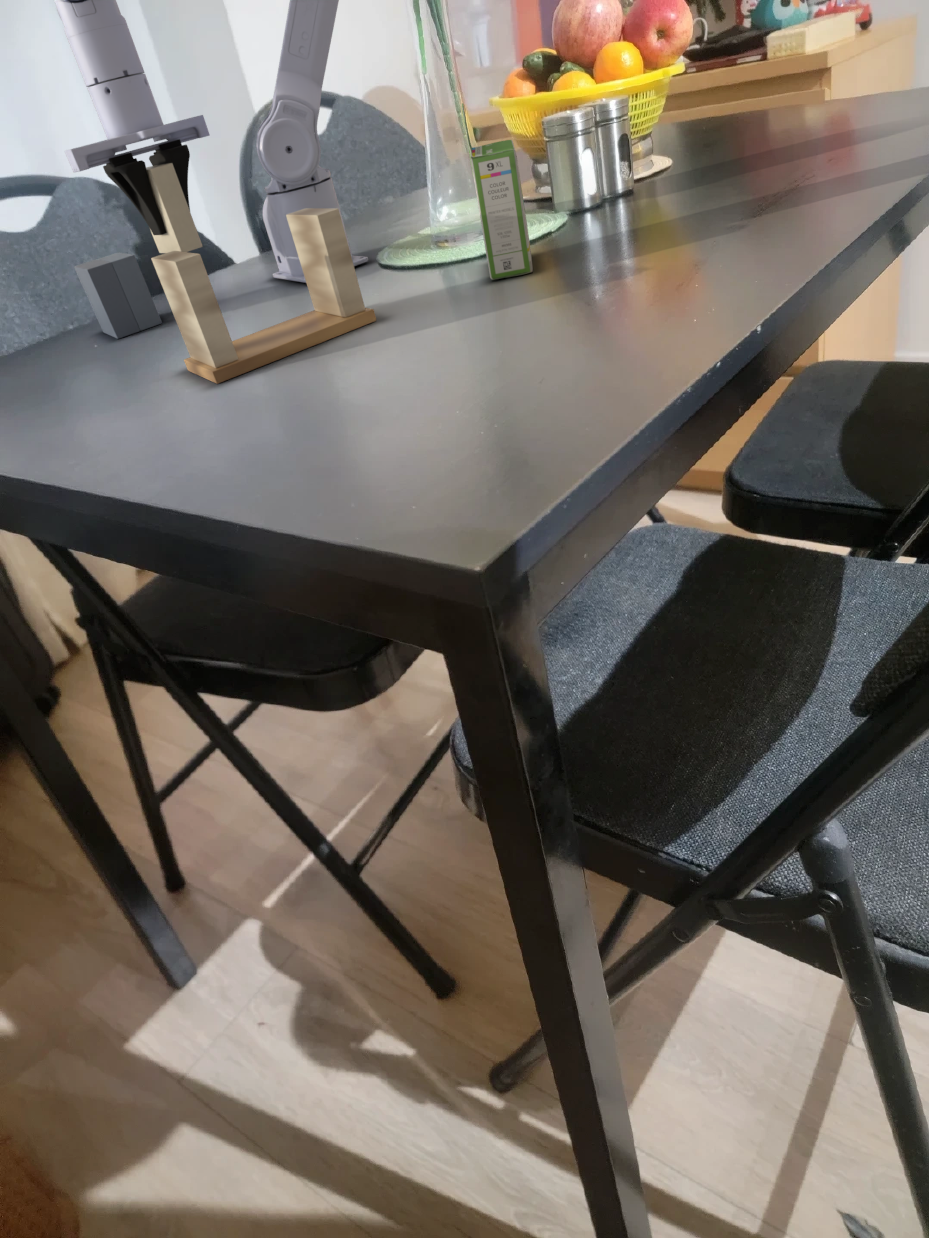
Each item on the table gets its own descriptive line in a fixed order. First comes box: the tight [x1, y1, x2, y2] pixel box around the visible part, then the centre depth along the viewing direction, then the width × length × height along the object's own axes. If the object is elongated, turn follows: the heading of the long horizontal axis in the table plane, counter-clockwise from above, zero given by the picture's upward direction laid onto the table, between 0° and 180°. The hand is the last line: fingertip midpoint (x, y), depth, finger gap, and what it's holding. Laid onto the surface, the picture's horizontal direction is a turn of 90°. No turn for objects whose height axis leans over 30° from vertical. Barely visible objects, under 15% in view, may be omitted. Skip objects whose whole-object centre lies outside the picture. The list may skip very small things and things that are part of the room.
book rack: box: [150, 208, 377, 385], centre depth 67 cm, size 7×15×9 cm, turn 126°
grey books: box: [73, 251, 163, 340], centre depth 87 cm, size 6×5×7 cm
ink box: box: [461, 102, 534, 281], centre depth 72 cm, size 7×4×13 cm, turn 179°
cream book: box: [146, 163, 203, 254], centre depth 86 cm, size 6×2×8 cm, turn 42°
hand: (173, 230), depth 88 cm, fingers closed on cream book, 2 cm apart
